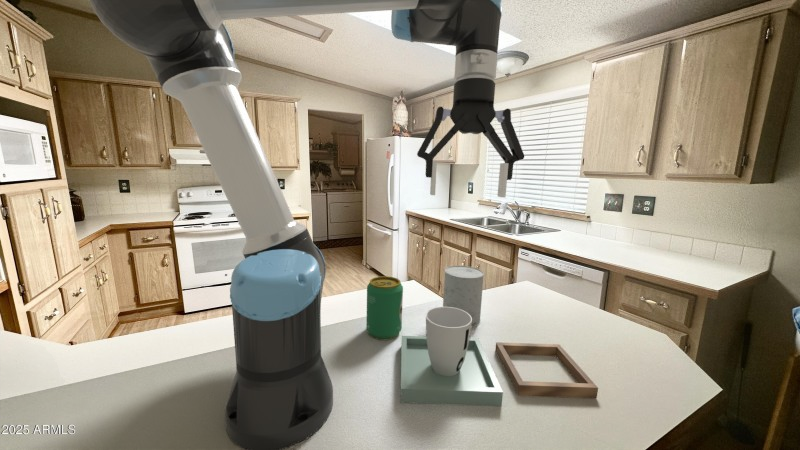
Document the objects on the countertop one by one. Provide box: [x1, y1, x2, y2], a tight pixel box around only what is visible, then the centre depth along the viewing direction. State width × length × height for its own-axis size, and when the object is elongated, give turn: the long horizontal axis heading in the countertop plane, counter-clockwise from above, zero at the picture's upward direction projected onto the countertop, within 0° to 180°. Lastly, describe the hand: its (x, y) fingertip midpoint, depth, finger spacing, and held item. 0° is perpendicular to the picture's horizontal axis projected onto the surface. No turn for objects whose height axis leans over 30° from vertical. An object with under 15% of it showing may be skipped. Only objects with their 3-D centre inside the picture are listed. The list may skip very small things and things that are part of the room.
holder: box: [495, 341, 599, 400], centre depth 58 cm, size 13×13×2 cm
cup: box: [425, 306, 472, 376], centre depth 56 cm, size 8×8×10 cm
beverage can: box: [366, 275, 404, 341], centre depth 70 cm, size 8×8×12 cm
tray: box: [400, 335, 504, 407], centre depth 57 cm, size 16×16×2 cm
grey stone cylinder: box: [442, 265, 485, 328], centre depth 78 cm, size 10×10×12 cm
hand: (466, 196), depth 62 cm, fingers open, 13 cm apart
